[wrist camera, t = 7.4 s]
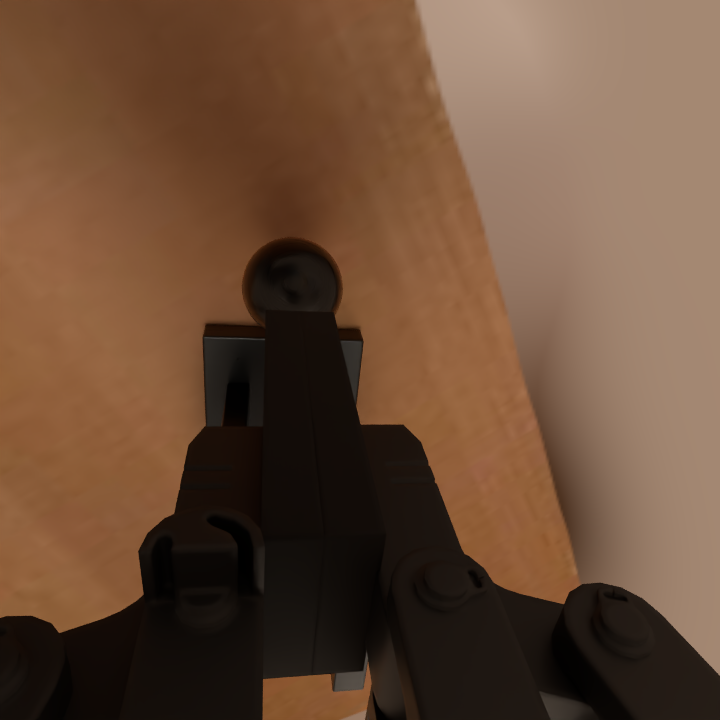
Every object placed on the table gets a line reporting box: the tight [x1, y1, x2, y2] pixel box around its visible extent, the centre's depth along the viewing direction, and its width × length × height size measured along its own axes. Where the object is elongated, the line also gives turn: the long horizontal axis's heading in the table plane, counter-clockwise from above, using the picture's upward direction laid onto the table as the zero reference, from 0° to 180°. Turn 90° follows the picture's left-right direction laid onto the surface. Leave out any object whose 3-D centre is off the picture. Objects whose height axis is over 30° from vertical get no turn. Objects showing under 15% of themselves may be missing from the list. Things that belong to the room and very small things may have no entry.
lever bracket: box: [203, 325, 368, 692], centre depth 22 cm, size 9×7×13 cm
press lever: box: [242, 237, 343, 329], centre depth 18 cm, size 13×3×3 cm, turn 174°
